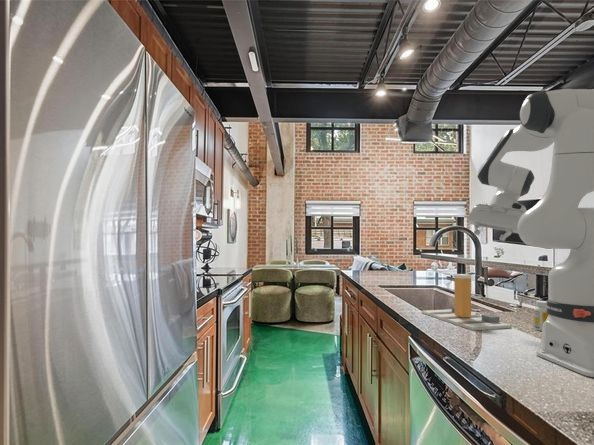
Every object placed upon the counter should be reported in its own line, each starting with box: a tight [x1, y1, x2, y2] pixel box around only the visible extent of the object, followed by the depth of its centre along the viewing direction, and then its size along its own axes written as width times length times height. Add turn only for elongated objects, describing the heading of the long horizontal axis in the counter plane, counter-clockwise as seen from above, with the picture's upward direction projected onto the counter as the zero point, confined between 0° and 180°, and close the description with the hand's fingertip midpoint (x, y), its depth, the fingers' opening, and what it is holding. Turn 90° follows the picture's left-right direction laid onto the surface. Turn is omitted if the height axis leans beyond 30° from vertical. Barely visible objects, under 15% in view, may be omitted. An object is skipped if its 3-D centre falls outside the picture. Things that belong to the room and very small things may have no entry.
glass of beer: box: [453, 273, 472, 318], centre depth 134 cm, size 4×4×16 cm
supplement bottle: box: [533, 300, 548, 332], centre depth 120 cm, size 5×5×10 cm
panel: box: [421, 305, 512, 331], centre depth 134 cm, size 28×16×3 cm, turn 15°
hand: (488, 237), depth 136 cm, fingers open, 8 cm apart
